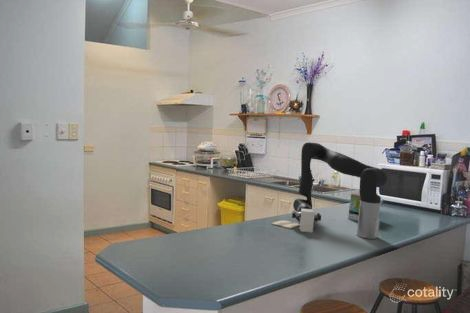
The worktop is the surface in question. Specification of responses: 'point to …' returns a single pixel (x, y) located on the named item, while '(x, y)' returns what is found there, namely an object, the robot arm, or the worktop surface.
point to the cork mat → (286, 224)
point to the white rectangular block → (306, 220)
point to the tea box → (354, 206)
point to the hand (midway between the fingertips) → (307, 219)
